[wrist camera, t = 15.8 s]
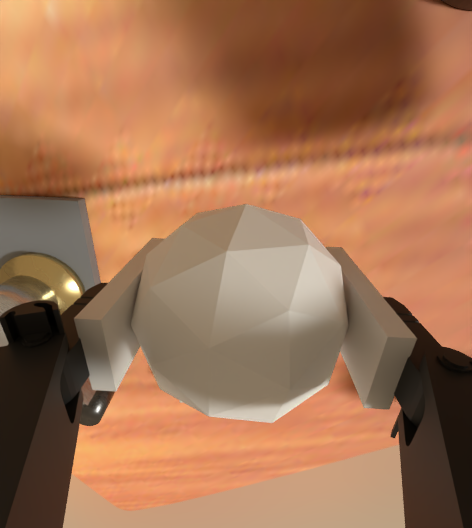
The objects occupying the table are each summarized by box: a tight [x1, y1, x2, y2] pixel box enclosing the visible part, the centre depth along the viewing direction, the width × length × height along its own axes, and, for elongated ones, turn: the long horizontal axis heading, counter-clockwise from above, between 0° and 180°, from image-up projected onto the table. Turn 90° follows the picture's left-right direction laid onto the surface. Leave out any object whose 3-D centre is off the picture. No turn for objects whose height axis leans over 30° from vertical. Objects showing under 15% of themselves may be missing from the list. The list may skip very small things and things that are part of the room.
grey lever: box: [0, 252, 115, 426], centre depth 30 cm, size 9×19×7 cm, turn 31°
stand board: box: [0, 195, 101, 292], centre depth 32 cm, size 22×14×1 cm, turn 178°
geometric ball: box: [131, 204, 349, 423], centre depth 11 cm, size 8×8×8 cm
